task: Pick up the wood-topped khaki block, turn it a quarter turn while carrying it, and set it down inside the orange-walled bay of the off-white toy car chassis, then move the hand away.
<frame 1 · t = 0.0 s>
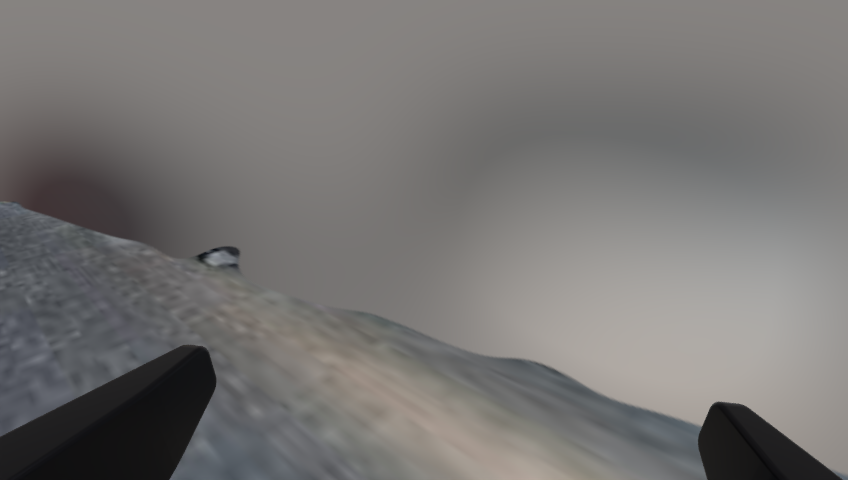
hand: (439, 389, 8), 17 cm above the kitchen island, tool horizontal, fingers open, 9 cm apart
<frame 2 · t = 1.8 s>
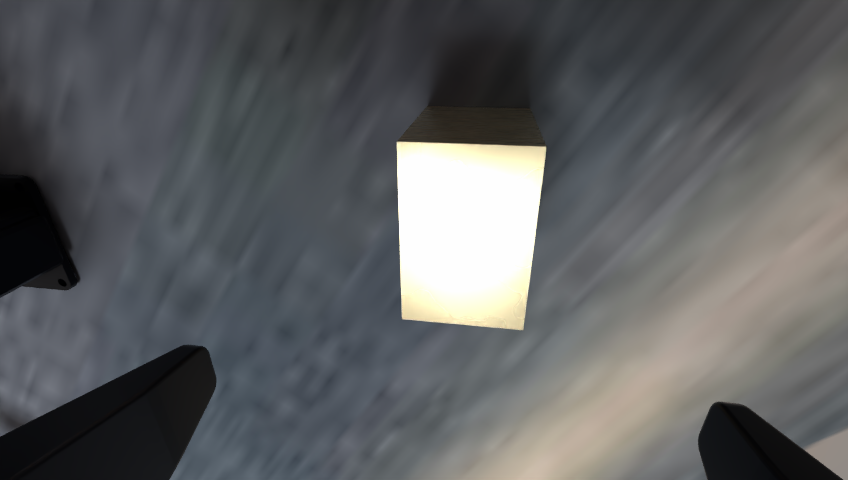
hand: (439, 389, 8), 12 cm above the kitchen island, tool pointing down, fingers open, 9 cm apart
wood-topped khaki block: (474, 180, 18), on the kitchen island
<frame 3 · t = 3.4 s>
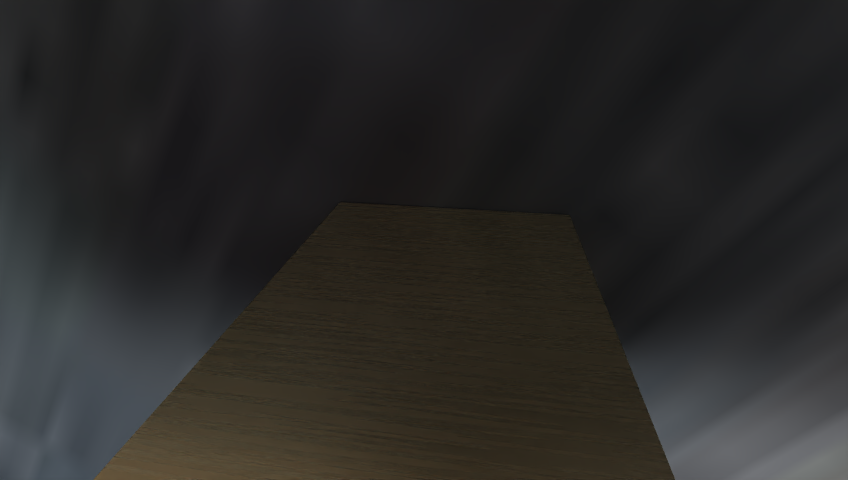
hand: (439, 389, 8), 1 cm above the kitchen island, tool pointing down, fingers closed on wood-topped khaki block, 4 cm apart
wood-topped khaki block: (446, 343, 9), on the kitchen island, touching gripper
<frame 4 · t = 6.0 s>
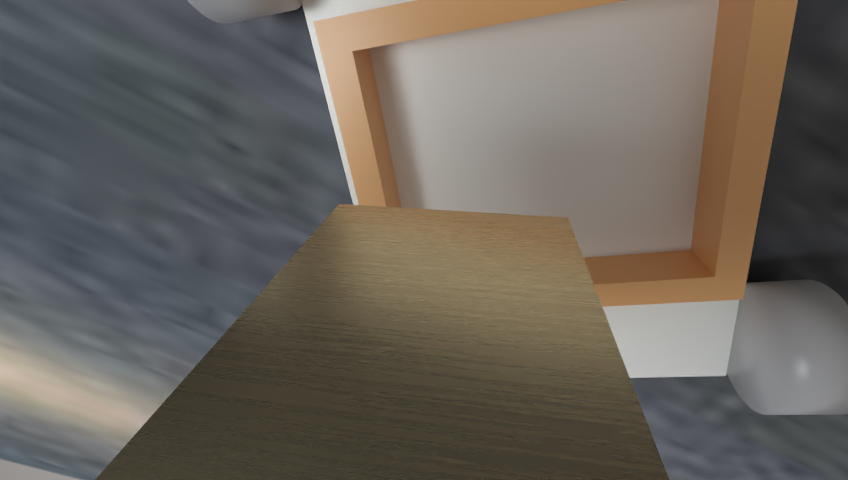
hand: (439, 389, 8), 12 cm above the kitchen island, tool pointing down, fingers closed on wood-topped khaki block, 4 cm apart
wood-topped khaki block: (445, 345, 9), point 10 cm above the kitchen island, touching gripper
chassis: (534, 144, 17), on the kitchen island
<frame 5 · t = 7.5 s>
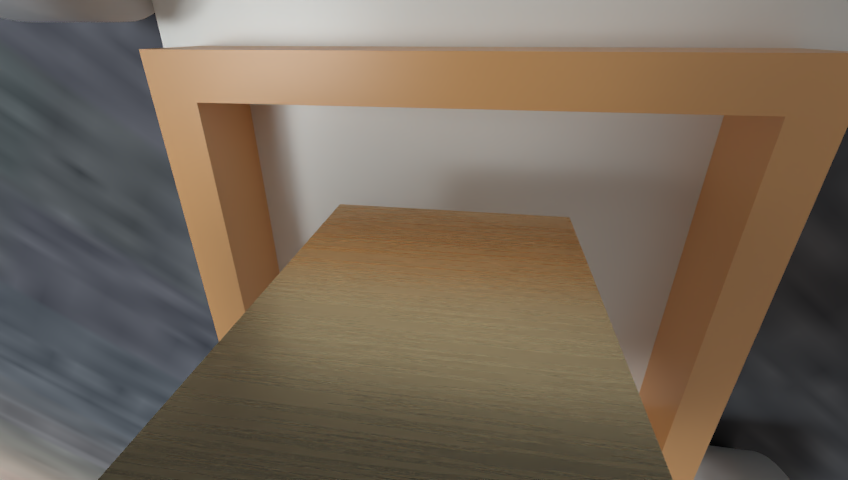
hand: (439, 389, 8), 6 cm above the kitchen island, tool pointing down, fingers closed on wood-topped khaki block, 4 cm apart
wood-topped khaki block: (446, 345, 9), point 5 cm above the kitchen island, touching gripper
chassis: (465, 240, 13), on the kitchen island
when the fingers open (4 cm above the kitchen island, at t = 8.8 s): wood-topped khaki block stays where it is, resting on chassis.
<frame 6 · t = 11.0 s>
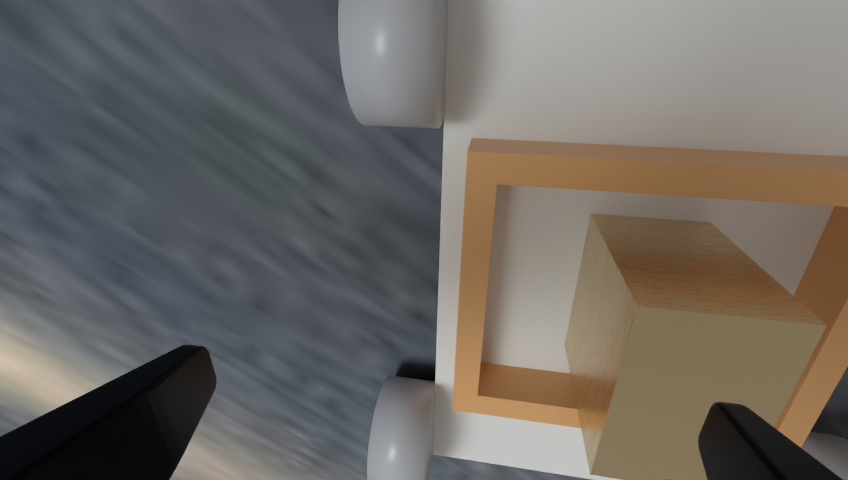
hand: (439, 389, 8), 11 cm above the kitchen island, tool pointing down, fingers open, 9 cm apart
wood-topped khaki block: (630, 289, 16), point 1 cm above the kitchen island, touching chassis
chassis: (621, 270, 18), on the kitchen island
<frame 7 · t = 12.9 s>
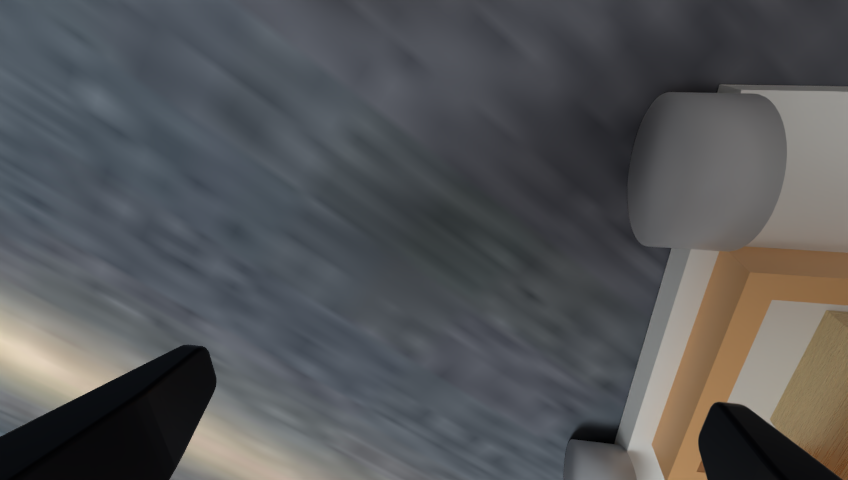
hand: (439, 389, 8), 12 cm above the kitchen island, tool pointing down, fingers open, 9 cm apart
chassis: (825, 349, 19), on the kitchen island
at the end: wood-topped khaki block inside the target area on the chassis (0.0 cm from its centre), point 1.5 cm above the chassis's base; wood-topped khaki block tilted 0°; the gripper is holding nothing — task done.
